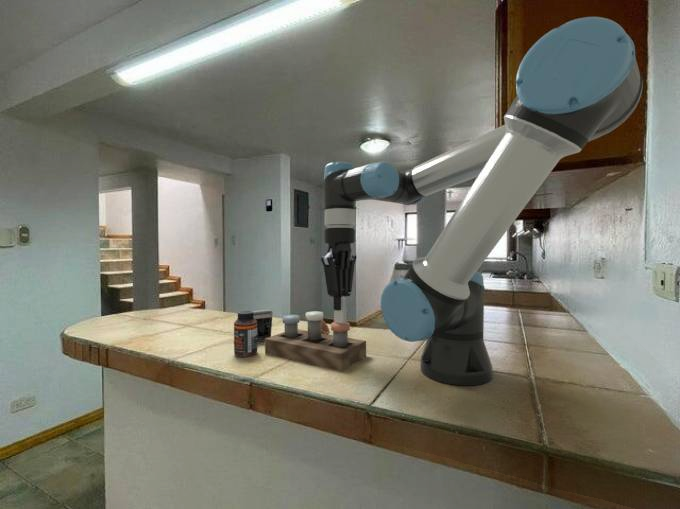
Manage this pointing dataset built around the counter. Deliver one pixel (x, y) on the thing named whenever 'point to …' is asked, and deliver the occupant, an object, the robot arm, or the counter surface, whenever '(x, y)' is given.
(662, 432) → the counter surface
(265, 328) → the electrical switch
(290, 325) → the grey cylindrical piece
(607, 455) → the counter surface
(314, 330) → the key white
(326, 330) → the fruit slice
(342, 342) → the key red
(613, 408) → the counter surface
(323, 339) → the wooden peg holder
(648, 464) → the counter surface
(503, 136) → the robot arm
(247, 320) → the supplement bottle
